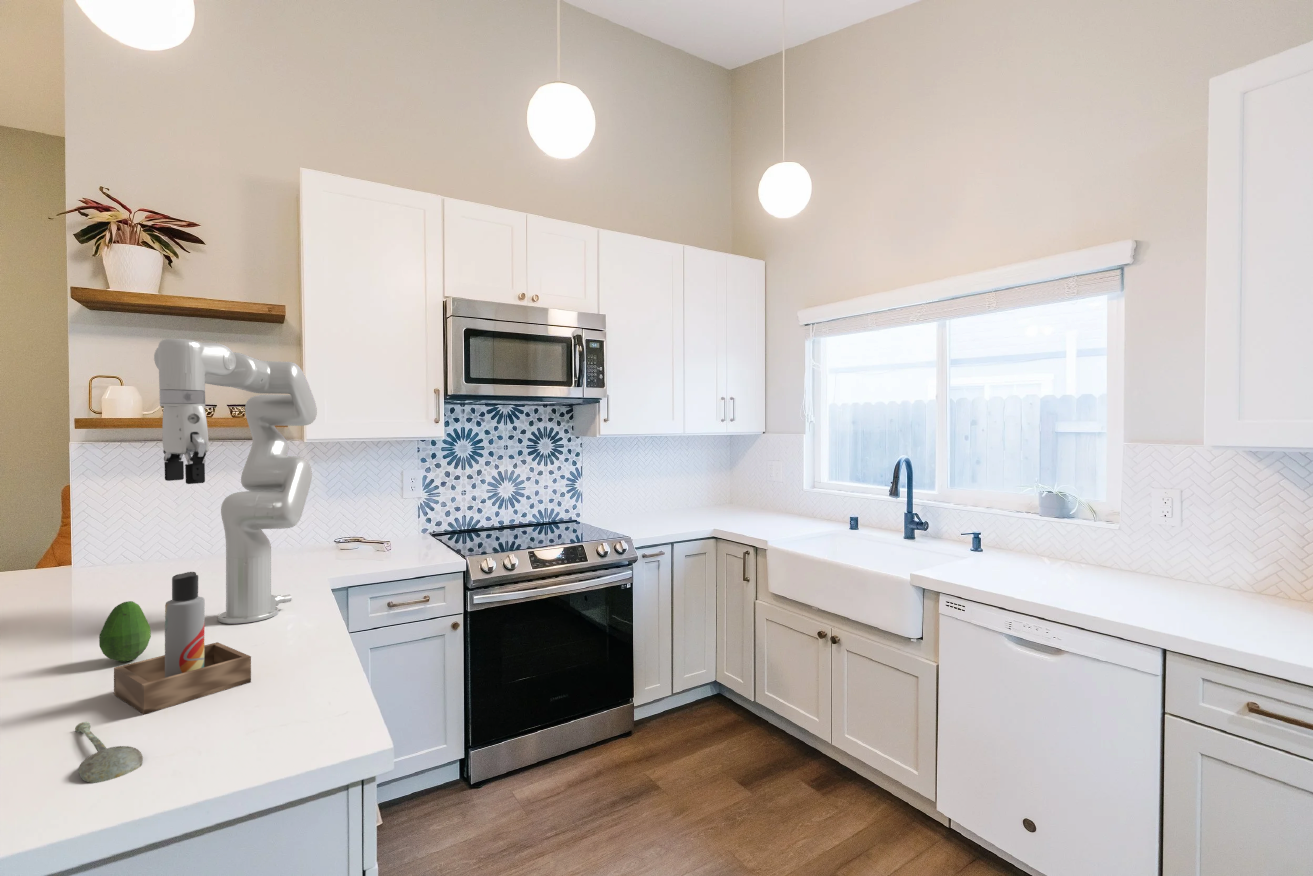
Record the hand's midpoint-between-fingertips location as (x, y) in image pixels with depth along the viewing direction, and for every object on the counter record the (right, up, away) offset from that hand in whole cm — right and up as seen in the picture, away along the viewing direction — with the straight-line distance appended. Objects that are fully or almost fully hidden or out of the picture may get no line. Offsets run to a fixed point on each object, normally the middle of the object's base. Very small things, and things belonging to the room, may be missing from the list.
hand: (184, 481), depth 128 cm
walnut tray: (+13, -36, -16) cm, 42 cm away
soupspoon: (+17, -37, -39) cm, 56 cm away
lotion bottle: (+12, -36, -16) cm, 41 cm away
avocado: (-10, -36, -3) cm, 38 cm away
